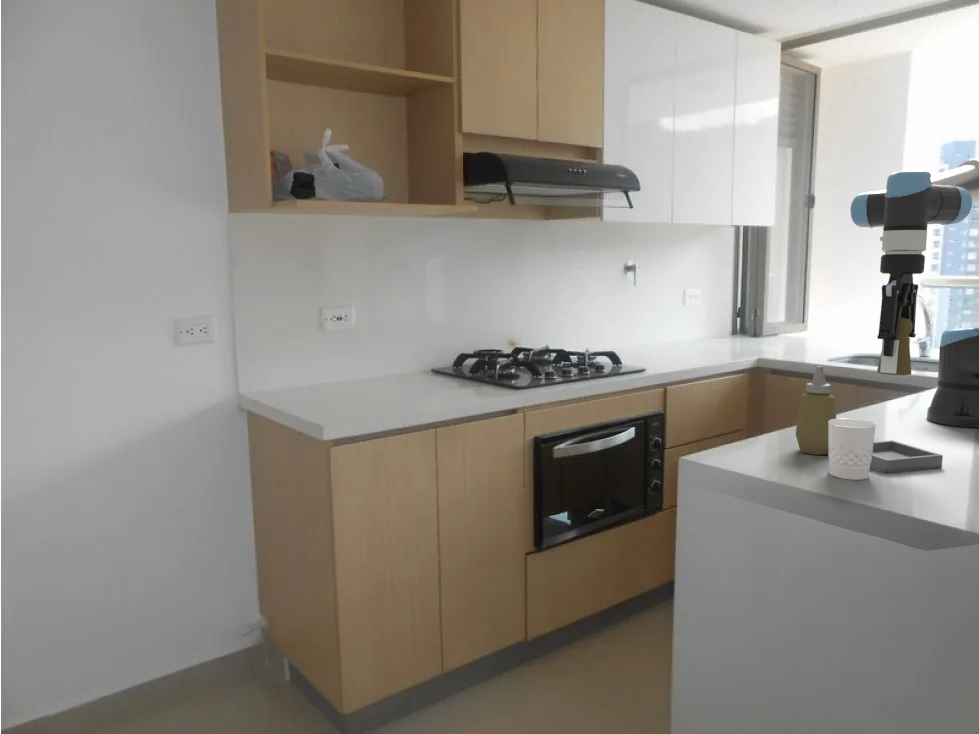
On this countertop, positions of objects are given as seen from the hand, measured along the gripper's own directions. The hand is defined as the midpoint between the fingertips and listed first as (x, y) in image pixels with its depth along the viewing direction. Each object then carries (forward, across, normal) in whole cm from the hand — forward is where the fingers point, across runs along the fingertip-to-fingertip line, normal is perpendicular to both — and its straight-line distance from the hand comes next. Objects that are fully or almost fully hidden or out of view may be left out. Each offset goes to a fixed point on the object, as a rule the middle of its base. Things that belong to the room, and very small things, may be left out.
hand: (894, 371), depth 149 cm
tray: (+18, +3, +1) cm, 18 cm away
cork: (+1, 0, 0) cm, 1 cm away
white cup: (+18, +17, -1) cm, 25 cm away
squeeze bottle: (+18, +5, -12) cm, 22 cm away
